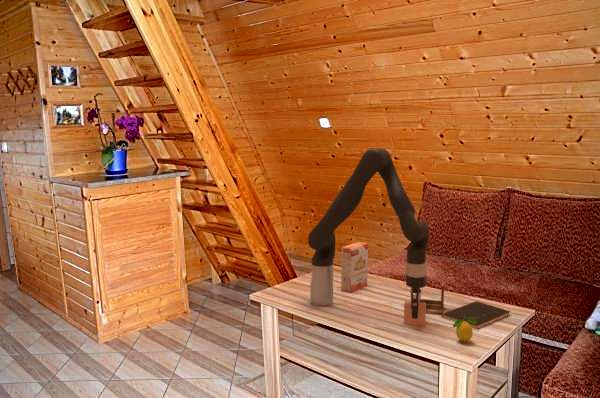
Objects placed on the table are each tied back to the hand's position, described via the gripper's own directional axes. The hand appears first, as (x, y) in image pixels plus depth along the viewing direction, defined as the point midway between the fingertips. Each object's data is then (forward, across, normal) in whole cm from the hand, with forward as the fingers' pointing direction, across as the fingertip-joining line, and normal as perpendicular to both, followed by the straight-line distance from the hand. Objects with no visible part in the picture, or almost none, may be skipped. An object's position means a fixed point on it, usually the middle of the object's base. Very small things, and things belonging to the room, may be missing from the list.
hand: (415, 314), depth 196 cm
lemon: (+4, +13, +18) cm, 22 cm away
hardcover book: (+4, -13, +23) cm, 27 cm away
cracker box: (+3, -36, -30) cm, 47 cm away
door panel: (+4, 0, 0) cm, 4 cm away
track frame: (+4, -17, +4) cm, 18 cm away
